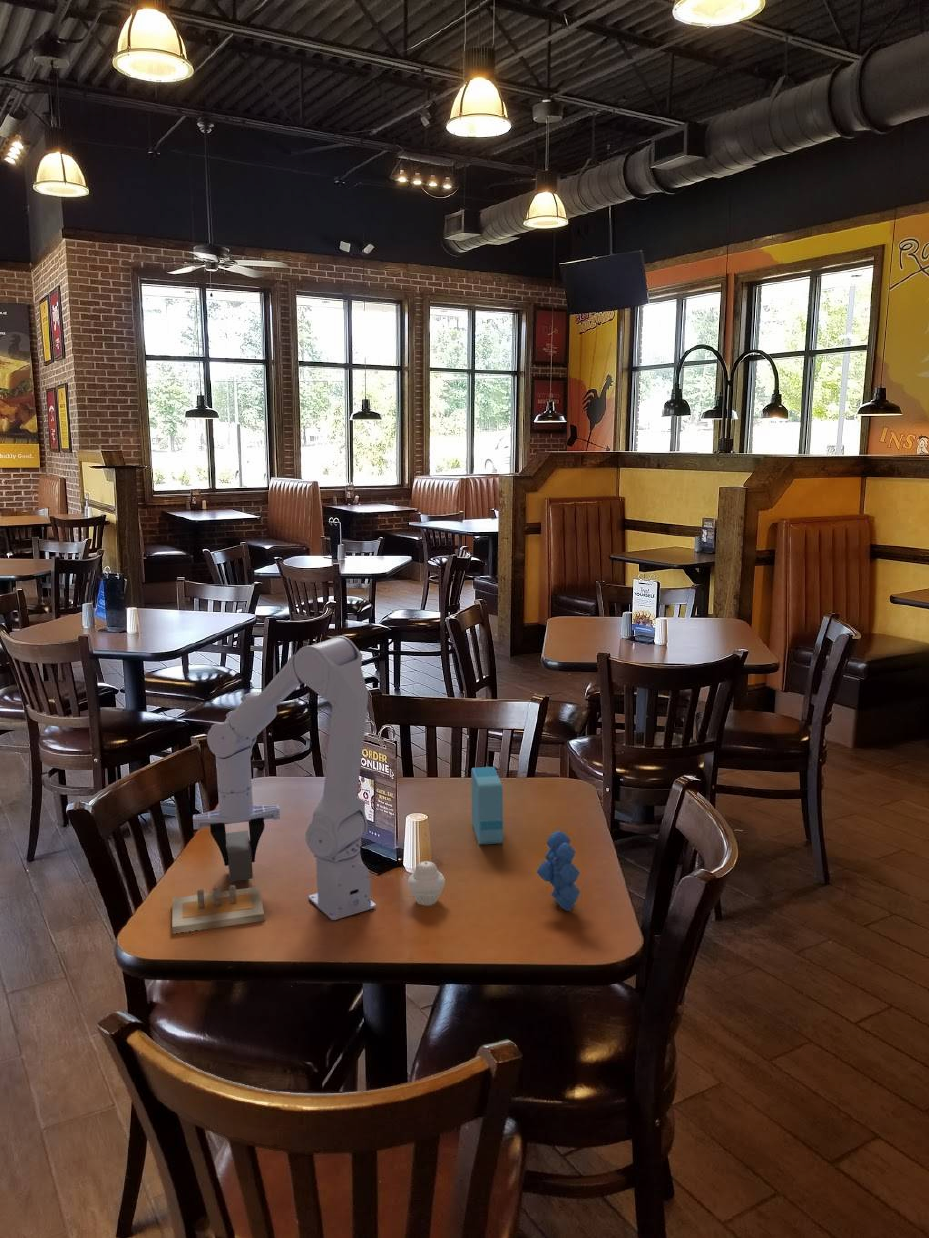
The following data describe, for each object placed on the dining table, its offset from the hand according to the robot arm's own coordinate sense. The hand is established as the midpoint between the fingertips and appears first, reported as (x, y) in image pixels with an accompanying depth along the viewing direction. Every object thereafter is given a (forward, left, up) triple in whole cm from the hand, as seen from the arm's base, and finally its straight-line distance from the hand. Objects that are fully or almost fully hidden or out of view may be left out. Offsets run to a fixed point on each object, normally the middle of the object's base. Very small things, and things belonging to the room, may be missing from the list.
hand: (239, 861), depth 166 cm
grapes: (-39, -39, -3) cm, 56 cm away
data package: (-9, -46, -3) cm, 47 cm away
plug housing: (0, 0, -1) cm, 1 cm away
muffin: (-26, -22, -3) cm, 34 cm away
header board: (-10, +8, -3) cm, 13 cm away
